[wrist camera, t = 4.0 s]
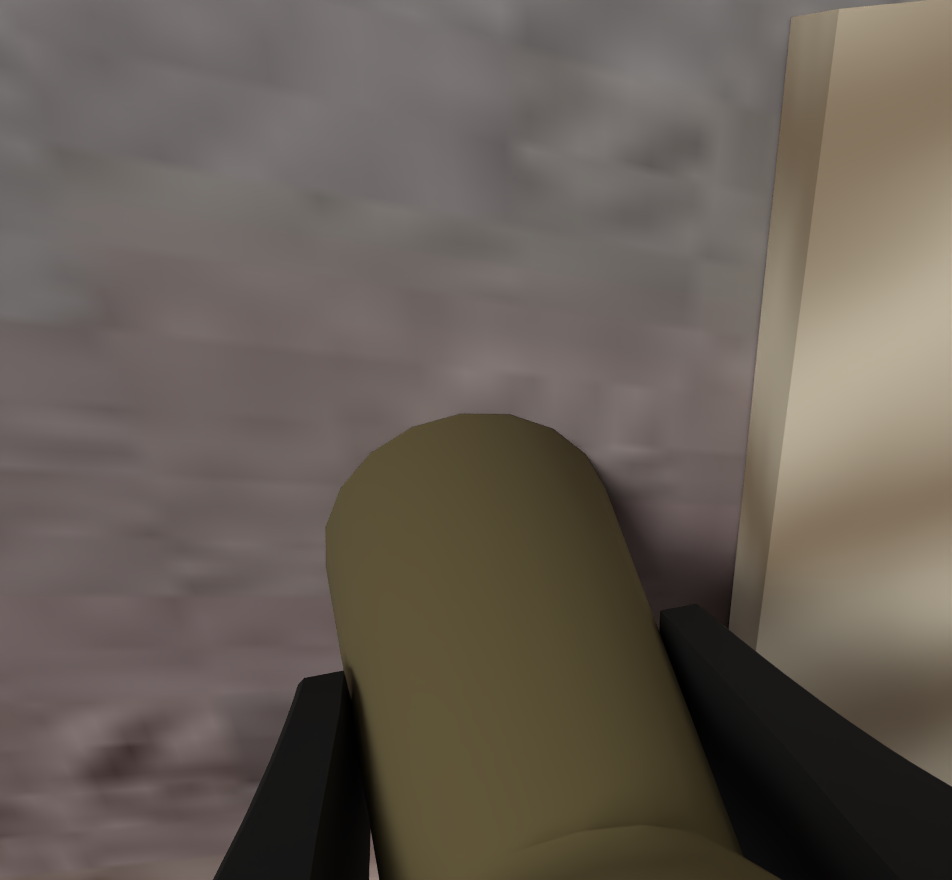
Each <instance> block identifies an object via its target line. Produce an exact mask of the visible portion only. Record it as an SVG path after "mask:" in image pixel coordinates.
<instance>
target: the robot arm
mask: <svg viewBox="0 0 952 880" xmlns="http://www.w3.org/2000/svg"><path fill="white" fill-rule="evenodd" d="M659 632H660V635H661V638H662V640H663V643H664V646H665V648H666V651H667V654H668V656H669V659H670V662H671V664H672V667H673V670H674V672H675V675H676V678H677V680H678V683H679V686H680V688H681V691H682V694H683V696H684V699H685V702H686V704H687V707H688V710H689V712H690V715H691V718H692V720H693V723H694V726H695V728H696V731H697V734H698V736H699V739H700V742H701V744H702V747H703V750H704V752H705V755H706V758H707V760H708V763H709V766H710V768H711V771H712V773H713V776H714V779H715V781H716V784H717V787H718V789H719V792H720V795H721V797H722V800H723V803H724V805H725V808H726V811H727V813H728V816H729V819H730V821H731V824H732V827H733V829H734V832H735V835H736V837H737V840H738V843H739V845H740V848H741V851H742V853H743V856H744V857H745V858H746V859H748V860H750V861H751V862H753V863H755V864H756V865H758V866H760V867H761V868H763V869H765V870H766V871H768V872H770V873H771V874H773V875H775V876H777V877H778V878H780V879H782V880H952V786H950V785H948V784H947V783H945V782H943V781H942V780H940V779H938V778H937V777H935V776H933V775H932V774H930V773H928V772H927V771H925V770H923V769H922V768H920V767H918V766H917V765H915V764H913V763H912V762H910V761H909V760H907V759H905V758H904V757H902V756H901V755H899V754H898V753H896V752H894V751H893V750H891V749H890V748H888V747H887V746H885V745H884V744H882V743H881V742H879V741H878V740H876V739H875V738H873V737H872V736H870V735H869V734H867V733H866V732H864V731H863V730H861V729H860V728H859V727H857V726H856V725H854V724H853V723H851V722H850V721H848V720H847V719H845V718H844V717H843V716H841V715H840V714H838V713H837V712H836V711H834V710H833V709H831V708H830V707H829V706H827V705H826V704H824V703H823V702H822V701H820V700H819V699H818V698H816V697H815V696H814V695H812V694H811V693H810V692H808V691H807V690H806V689H804V688H803V687H802V686H800V685H799V684H798V683H796V682H795V681H794V680H792V679H791V678H790V677H788V676H787V675H786V674H784V673H783V672H782V671H780V670H779V669H778V668H777V667H775V666H774V665H773V664H771V663H770V662H769V661H768V660H766V659H765V658H764V657H763V656H761V655H760V654H759V653H758V652H756V651H755V650H754V649H752V648H751V647H750V646H749V645H747V644H746V643H745V642H744V641H742V640H741V639H740V638H739V637H737V636H736V635H735V634H734V633H732V632H731V631H730V630H729V629H728V628H726V627H725V626H724V625H723V624H721V623H720V622H719V621H718V620H716V619H715V618H714V617H713V616H711V615H710V614H709V613H708V612H706V611H705V610H704V609H702V608H701V607H700V606H699V605H697V604H693V605H688V606H683V607H678V608H672V609H667V610H662V611H660V630H659ZM370 830H371V829H370V822H369V816H368V810H367V804H366V798H365V792H364V787H363V781H362V775H361V769H360V763H359V757H358V752H357V746H356V740H355V732H354V721H353V711H352V701H351V697H350V693H349V689H348V685H347V681H346V677H345V673H344V671H339V672H334V673H328V674H323V675H318V676H313V677H307V678H304V679H303V680H302V681H301V682H300V683H299V684H298V687H297V690H296V693H295V696H294V699H293V702H292V705H291V708H290V711H289V713H288V716H287V719H286V722H285V724H284V727H283V729H282V732H281V735H280V737H279V740H278V742H277V744H276V747H275V749H274V752H273V754H272V757H271V759H270V762H269V764H268V766H267V768H266V771H265V773H264V775H263V777H262V780H261V782H260V784H259V786H258V789H257V791H256V793H255V795H254V797H253V800H252V802H251V804H250V806H249V809H248V811H247V813H246V815H245V817H244V819H243V821H242V823H241V826H240V828H239V830H238V831H237V833H236V835H235V837H234V839H233V841H232V843H231V845H230V847H229V849H228V851H227V853H226V855H225V857H224V859H223V861H222V863H221V865H220V867H219V869H218V871H217V873H216V875H215V877H214V879H213V880H369V863H370Z"/></svg>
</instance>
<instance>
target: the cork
mask: <svg viewBox="0 0 952 880" xmlns="http://www.w3.org/2000/svg"><path fill="white" fill-rule="evenodd" d="M326 570H327V576H328V582H329V588H330V594H331V599H332V605H333V611H334V617H335V623H336V629H337V635H338V640H339V646H340V652H341V658H342V664H343V670H344V673H345V677H346V681H347V685H348V689H349V693H350V697H351V701H352V711H353V721H354V732H355V740H356V746H357V752H358V757H359V763H360V769H361V775H362V781H363V787H364V792H365V798H366V804H367V810H368V816H369V822H370V828H371V833H372V839H373V845H374V851H375V857H376V863H377V869H378V874H379V880H782V879H780V878H778V877H777V876H775V875H773V874H771V873H770V872H768V871H766V870H765V869H763V868H761V867H760V866H758V865H756V864H755V863H753V862H751V861H750V860H748V859H746V858H745V857H744V856H743V853H742V851H741V848H740V845H739V843H738V840H737V837H736V835H735V832H734V829H733V827H732V824H731V821H730V819H729V816H728V813H727V811H726V808H725V805H724V803H723V800H722V797H721V795H720V792H719V789H718V787H717V784H716V781H715V779H714V776H713V773H712V771H711V768H710V766H709V763H708V760H707V758H706V755H705V752H704V750H703V747H702V744H701V742H700V739H699V736H698V734H697V731H696V728H695V726H694V723H693V720H692V718H691V715H690V712H689V710H688V707H687V704H686V702H685V699H684V696H683V694H682V691H681V688H680V686H679V683H678V680H677V678H676V675H675V672H674V670H673V667H672V664H671V662H670V659H669V656H668V654H667V651H666V648H665V646H664V643H663V640H662V638H661V635H660V632H659V630H658V627H657V624H656V622H655V619H654V616H653V614H652V611H651V609H650V606H649V603H648V601H647V598H646V595H645V593H644V590H643V587H642V585H641V582H640V579H639V577H638V574H637V571H636V569H635V566H634V563H633V561H632V558H631V555H630V553H629V550H628V547H627V545H626V542H625V539H624V537H623V534H622V531H621V529H620V526H619V523H618V521H617V518H616V515H615V513H614V510H613V507H612V505H611V502H610V499H609V497H608V494H607V491H606V489H605V486H604V485H603V483H602V481H601V480H600V478H599V476H598V475H597V473H596V471H595V470H594V468H593V466H592V465H591V463H590V461H589V460H588V458H587V456H586V455H585V454H584V453H583V452H582V451H580V450H579V449H578V448H577V447H575V446H574V445H573V444H571V443H570V442H569V441H568V440H566V439H565V438H564V437H562V436H561V435H560V434H558V433H557V432H556V431H555V430H553V429H552V428H549V427H546V426H542V425H539V424H536V423H533V422H530V421H527V420H524V419H521V418H518V417H515V416H512V415H509V414H458V415H454V416H451V417H447V418H444V419H440V420H436V421H433V422H429V423H426V424H422V425H418V426H415V427H412V428H410V429H409V430H407V431H405V432H404V433H402V434H401V435H399V436H397V437H396V438H394V439H393V440H391V441H389V442H388V443H386V444H385V445H383V446H381V447H380V448H378V449H377V450H375V451H373V452H372V453H370V455H369V456H368V457H367V458H366V459H365V460H364V462H363V463H362V464H361V465H360V466H359V467H358V469H357V470H356V471H355V472H354V473H353V474H352V476H351V477H350V478H349V479H348V480H347V481H346V483H345V484H344V485H343V486H342V487H341V489H340V491H339V494H338V497H337V499H336V502H335V504H334V507H333V510H332V512H331V515H330V517H329V520H328V523H327V525H326Z"/></svg>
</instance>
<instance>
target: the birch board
mask: <svg viewBox="0 0 952 880" xmlns="http://www.w3.org/2000/svg"><path fill="white" fill-rule="evenodd" d="M729 630H730V631H731V632H732V633H734V634H735V635H736V636H737V637H739V638H740V639H741V640H742V641H744V642H745V643H746V644H747V645H749V646H750V647H751V648H752V649H754V650H755V651H756V652H758V653H759V654H760V655H761V656H763V657H764V658H765V659H766V660H768V661H769V662H770V663H771V664H773V665H774V666H775V667H777V668H778V669H779V670H780V671H782V672H783V673H784V674H786V675H787V676H788V677H790V678H791V679H792V680H794V681H795V682H796V683H798V684H799V685H800V686H802V687H803V688H804V689H806V690H807V691H808V692H810V693H811V694H812V695H814V696H815V697H816V698H818V699H819V700H820V701H822V702H823V703H824V704H826V705H827V706H829V707H830V708H831V709H833V710H834V711H836V712H837V713H838V714H840V715H841V716H843V717H844V718H845V719H847V720H848V721H850V722H851V723H853V724H854V725H856V726H857V727H859V728H860V729H861V730H863V731H864V732H866V733H867V734H869V735H870V736H872V737H873V738H875V739H876V740H878V741H879V742H881V743H882V744H884V745H885V746H887V747H888V748H890V749H891V750H893V751H894V752H896V753H898V754H899V755H901V756H902V757H904V758H905V759H907V760H909V761H910V762H912V763H913V764H915V765H917V766H918V767H920V768H922V769H923V770H925V771H927V772H928V773H930V774H932V775H933V776H935V777H937V778H938V779H940V780H942V781H943V782H945V783H947V784H948V785H950V786H952V0H927V1H917V2H906V3H896V4H886V5H876V6H865V7H855V8H845V9H837V10H831V11H825V12H819V13H814V14H808V15H802V16H797V17H791V26H790V36H789V45H788V55H787V65H786V75H785V84H784V94H783V104H782V114H781V123H780V133H779V143H778V153H777V162H776V172H775V182H774V192H773V201H772V211H771V221H770V230H769V240H768V250H767V260H766V269H765V279H764V289H763V299H762V308H761V318H760V328H759V338H758V347H757V357H756V367H755V377H754V386H753V396H752V406H751V415H750V425H749V435H748V445H747V454H746V464H745V474H744V484H743V493H742V503H741V513H740V523H739V532H738V542H737V552H736V562H735V571H734V581H733V591H732V600H731V610H730V620H729Z"/></svg>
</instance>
